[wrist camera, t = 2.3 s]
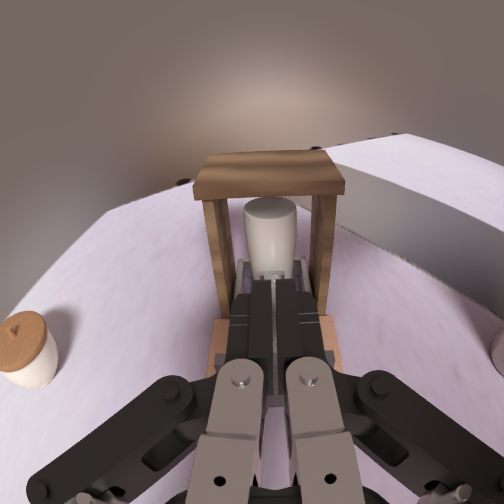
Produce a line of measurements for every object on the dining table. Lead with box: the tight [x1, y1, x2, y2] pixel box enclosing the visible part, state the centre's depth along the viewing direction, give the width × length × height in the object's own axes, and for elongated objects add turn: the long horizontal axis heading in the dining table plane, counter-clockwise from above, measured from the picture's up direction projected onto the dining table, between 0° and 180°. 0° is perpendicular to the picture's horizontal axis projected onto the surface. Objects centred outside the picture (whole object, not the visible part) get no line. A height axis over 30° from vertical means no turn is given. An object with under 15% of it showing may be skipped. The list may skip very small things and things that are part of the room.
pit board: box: [206, 315, 344, 378], centre depth 36 cm, size 12×16×2 cm
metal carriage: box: [214, 257, 335, 407], centre depth 37 cm, size 26×11×11 cm, turn 178°
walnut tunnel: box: [192, 150, 345, 319], centre depth 41 cm, size 12×16×21 cm
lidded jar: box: [0, 311, 58, 388], centre depth 32 cm, size 11×11×9 cm
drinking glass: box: [244, 196, 297, 280], centre depth 42 cm, size 7×7×15 cm
